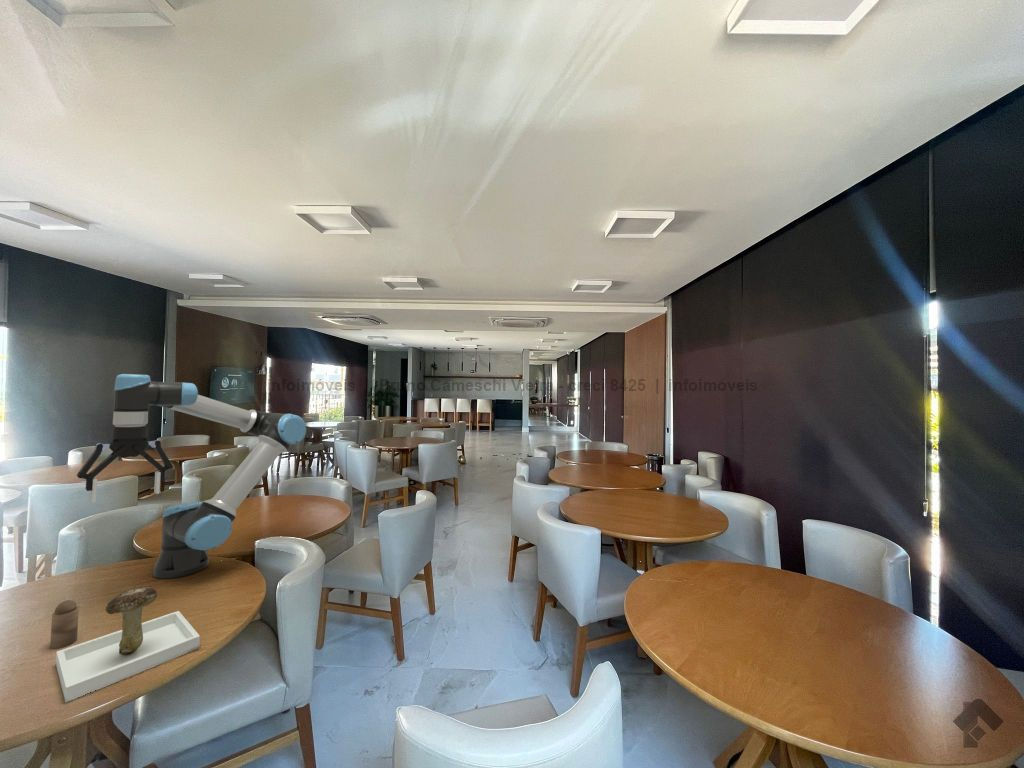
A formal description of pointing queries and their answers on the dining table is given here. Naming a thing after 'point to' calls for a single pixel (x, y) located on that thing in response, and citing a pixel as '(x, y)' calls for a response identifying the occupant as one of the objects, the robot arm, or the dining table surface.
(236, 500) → the robot arm
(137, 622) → the mushroom
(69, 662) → the tray
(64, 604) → the pepper mill
